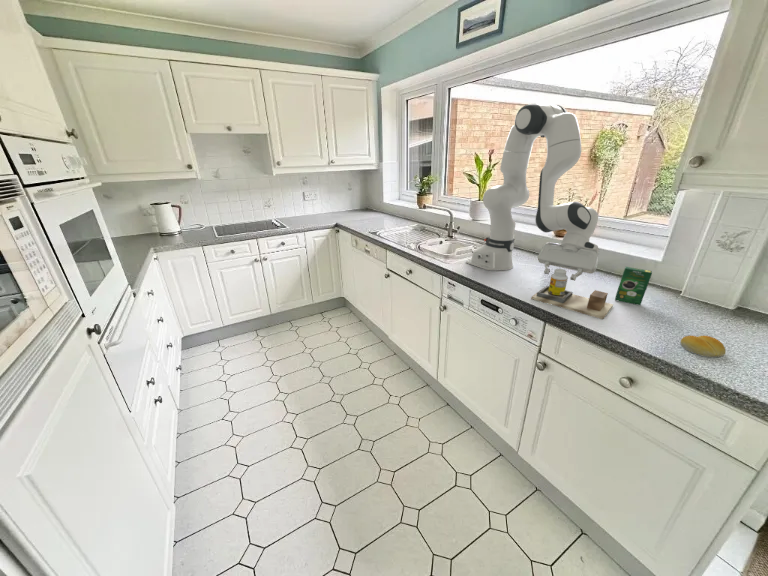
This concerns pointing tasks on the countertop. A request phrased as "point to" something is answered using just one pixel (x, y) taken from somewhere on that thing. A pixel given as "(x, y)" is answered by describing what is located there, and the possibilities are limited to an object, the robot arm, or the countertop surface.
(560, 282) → the supplement bottle
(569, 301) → the wooden board with frame
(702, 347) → the bread roll
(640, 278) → the coffee box
